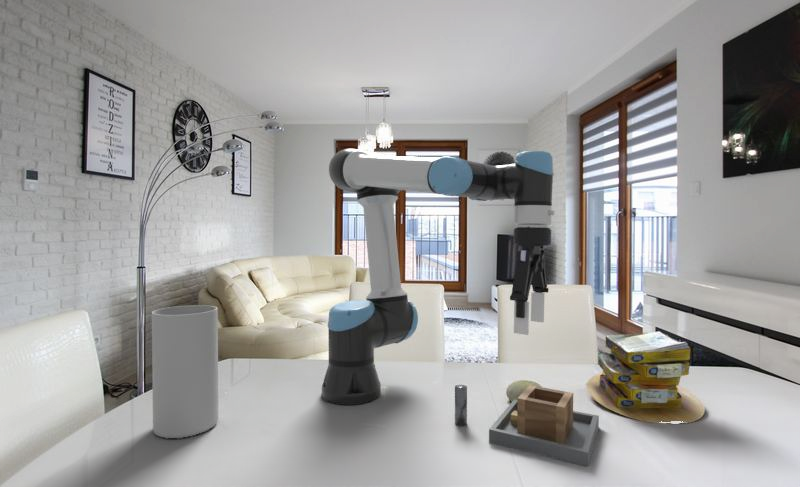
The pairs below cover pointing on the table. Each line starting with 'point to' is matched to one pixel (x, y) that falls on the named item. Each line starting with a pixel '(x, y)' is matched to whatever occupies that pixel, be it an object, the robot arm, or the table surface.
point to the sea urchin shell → (518, 388)
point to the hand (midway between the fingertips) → (529, 327)
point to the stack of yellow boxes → (645, 379)
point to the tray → (571, 451)
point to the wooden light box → (544, 413)
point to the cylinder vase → (184, 370)
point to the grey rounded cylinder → (461, 405)
